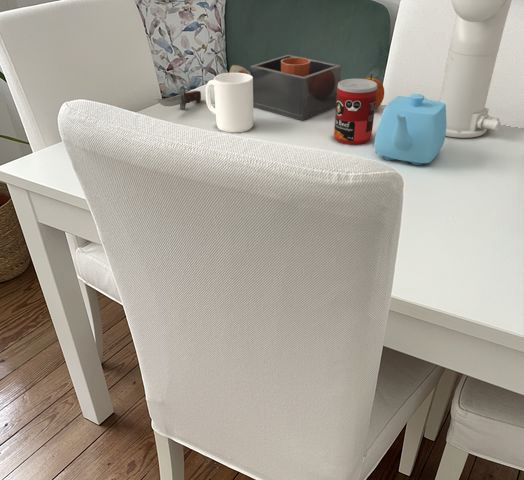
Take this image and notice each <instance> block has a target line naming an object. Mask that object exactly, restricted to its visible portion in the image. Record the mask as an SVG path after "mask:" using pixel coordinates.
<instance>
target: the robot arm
mask: <svg viewBox="0 0 524 480" xmlns="http://www.w3.org/2000/svg"><path fill="white" fill-rule="evenodd" d="M512 1H513V0H451V4H452V8H453V10H454V12H455V14H456V16H455V20H454V24H453V29H452V32H451V38H450V44H449V48H448V53H447V58H446V64H445V69H444V70H445V71H444V75H443V80H442V86H441V91H440V96H439V100H438V101H439V102H443V103H445V105H446V122H447V123H446V136H445V137H450V138H459V139H462V138H463V139H467V138H469V139H470V138H471V139H472V138H476V137H481V136H483V135H485V134H486V133H487V131H488V130H492V131H494V132H495V131H496V132H497V131H498V130H499V128H500V126H501V121H500V118H499V117H495V116H490V115H489V111H490V108H487V107H486V103H487V100H488V95H489V91H490V88H491V83H492V78H493V75H494V70H495V65H496V61H497V57H498V53H499V50H500V46H501V42H502V37H503V33H504V30H505V26H506V22H507V19H508V15H509V12H510V8H511V5H512Z"/></svg>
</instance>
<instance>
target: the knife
mask: <svg viewBox="0 0 524 480" xmlns="http://www.w3.org/2000/svg"><path fill="white" fill-rule="evenodd" d="M201 92H202V91H201V90H190V91H187V92H186V88H185V87H180V88H179V94H177V95H173V96H169V97H165V98H156V100H157V102H158V104H160V105H161V106H164V107H175V106H179V107H180V109H181V110H186V105H187V104H190V103H194V102H197V103H199V102H201V101H202V93H201Z"/></svg>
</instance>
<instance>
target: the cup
mask: <svg viewBox="0 0 524 480" xmlns="http://www.w3.org/2000/svg"><path fill="white" fill-rule="evenodd" d="M212 87H213V89H214V91H213V92H214V105H215V107H214V105H213V103H212V99H211V89H212ZM205 102H206V106H207V108H208V110H209V111H210V112H211V114H213V115H215V120H216V121H215V122H216V123H215V124H216V127H217V128H218V129H219V130H220V131H222V132H225V133H245V132H247V131H249V130H251V129H252V128H253V126H254V119H255V118H254V107H253V77H252V76H251V75H249V74H245V73H229V72H224V73H220V74H217V75H215V76H214V77H213V79H211V80H209V81H207V83H206V85H205Z"/></svg>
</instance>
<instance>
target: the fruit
mask: <svg viewBox="0 0 524 480" xmlns="http://www.w3.org/2000/svg"><path fill="white" fill-rule="evenodd" d="M364 79H367V80H371V81H374V82H376V83H377V96H376V104H375V110H377V109H378V108H379V107H380V106H381V105H382V103H383V101H384V98H385V86H384V85H383V83H382V81H380V80H379V79H378V78H374V77H373V73H371V74H370V77H365V78H364Z"/></svg>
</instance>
